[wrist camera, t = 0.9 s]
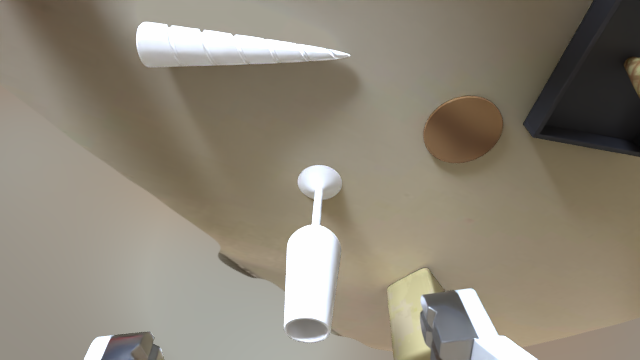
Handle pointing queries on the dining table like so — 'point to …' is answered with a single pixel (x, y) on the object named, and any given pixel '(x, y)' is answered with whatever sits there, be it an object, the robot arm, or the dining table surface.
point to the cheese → (410, 314)
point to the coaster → (463, 129)
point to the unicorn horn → (218, 48)
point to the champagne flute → (312, 263)
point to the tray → (594, 84)
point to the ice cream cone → (633, 72)
